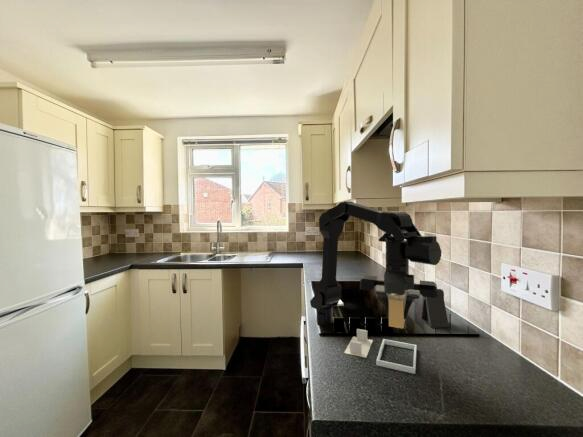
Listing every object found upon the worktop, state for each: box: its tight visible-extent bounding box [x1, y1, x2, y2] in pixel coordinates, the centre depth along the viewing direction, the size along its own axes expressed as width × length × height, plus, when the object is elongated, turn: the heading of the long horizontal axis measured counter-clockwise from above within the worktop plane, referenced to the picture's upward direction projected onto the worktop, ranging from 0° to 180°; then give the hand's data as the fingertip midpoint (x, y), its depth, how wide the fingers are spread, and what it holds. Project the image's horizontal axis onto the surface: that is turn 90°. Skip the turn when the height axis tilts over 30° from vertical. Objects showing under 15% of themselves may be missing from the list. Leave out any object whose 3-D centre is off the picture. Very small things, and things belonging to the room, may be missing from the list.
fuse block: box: [343, 328, 374, 359], centre depth 78 cm, size 11×6×4 cm, turn 154°
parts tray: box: [375, 338, 417, 375], centre depth 73 cm, size 13×9×2 cm
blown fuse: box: [388, 293, 406, 329], centre depth 72 cm, size 7×4×8 cm, turn 154°
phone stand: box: [418, 288, 450, 329], centre depth 97 cm, size 9×6×12 cm, turn 178°
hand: (397, 317), depth 72 cm, fingers closed on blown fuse, 3 cm apart
